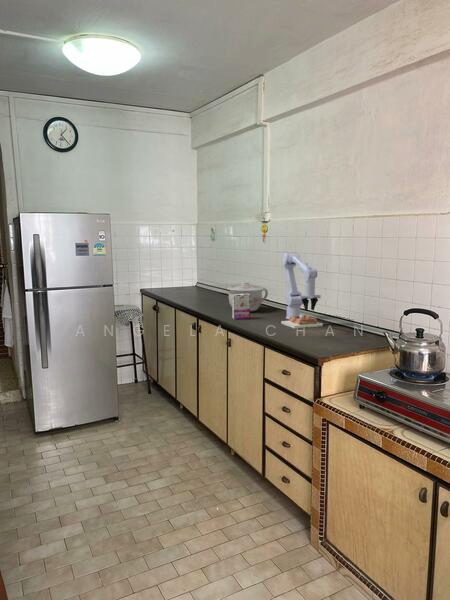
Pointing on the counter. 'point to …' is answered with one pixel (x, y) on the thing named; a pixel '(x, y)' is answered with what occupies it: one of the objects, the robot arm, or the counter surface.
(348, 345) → the counter surface
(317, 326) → the hook board
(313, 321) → the loop
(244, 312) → the candy bar box
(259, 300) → the chamber pot
